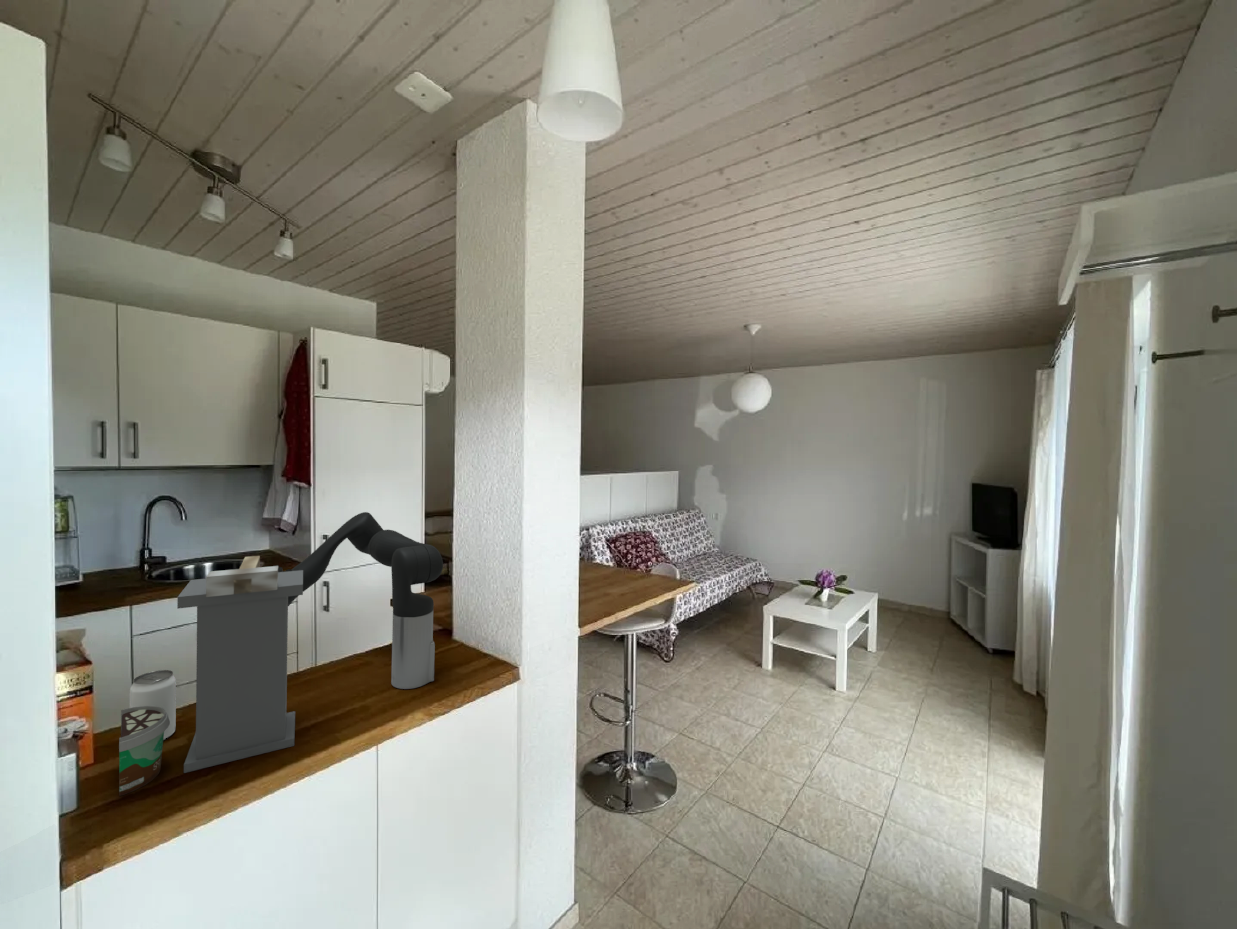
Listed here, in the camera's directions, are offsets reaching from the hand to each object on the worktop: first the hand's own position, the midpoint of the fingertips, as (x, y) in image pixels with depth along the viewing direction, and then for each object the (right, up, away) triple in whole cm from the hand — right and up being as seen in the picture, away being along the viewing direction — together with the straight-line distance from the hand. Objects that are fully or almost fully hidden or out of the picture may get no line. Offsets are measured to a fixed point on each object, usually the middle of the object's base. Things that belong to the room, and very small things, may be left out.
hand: (253, 571), depth 110 cm
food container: (0, -30, -25) cm, 39 cm away
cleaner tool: (+10, +2, -15) cm, 18 cm away
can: (-8, -29, -15) cm, 34 cm away
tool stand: (+10, -29, -15) cm, 35 cm away
